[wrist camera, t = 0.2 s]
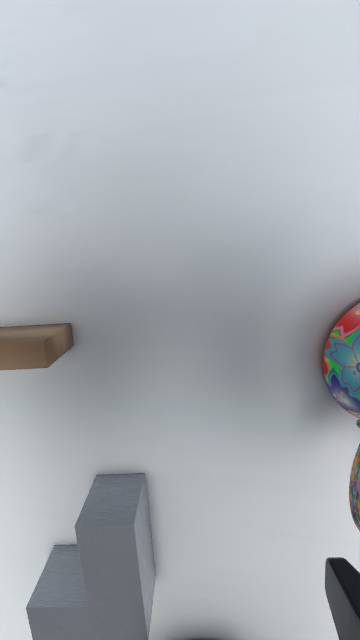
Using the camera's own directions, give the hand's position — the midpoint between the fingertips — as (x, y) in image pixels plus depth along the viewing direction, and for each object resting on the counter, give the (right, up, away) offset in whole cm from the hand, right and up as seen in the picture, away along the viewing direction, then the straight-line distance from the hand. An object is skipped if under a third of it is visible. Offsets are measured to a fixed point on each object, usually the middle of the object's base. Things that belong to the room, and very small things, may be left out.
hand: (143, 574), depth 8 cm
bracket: (-5, -9, +17) cm, 20 cm away
